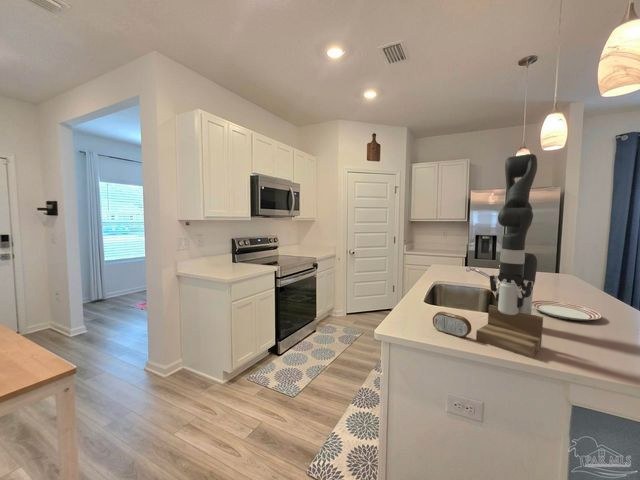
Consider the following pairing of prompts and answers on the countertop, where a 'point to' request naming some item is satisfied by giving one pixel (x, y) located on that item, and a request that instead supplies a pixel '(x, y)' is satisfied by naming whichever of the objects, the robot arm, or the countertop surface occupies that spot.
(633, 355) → the countertop surface
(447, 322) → the tin
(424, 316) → the countertop surface
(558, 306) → the dinner plate
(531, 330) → the walnut shelf
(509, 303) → the beverage can
